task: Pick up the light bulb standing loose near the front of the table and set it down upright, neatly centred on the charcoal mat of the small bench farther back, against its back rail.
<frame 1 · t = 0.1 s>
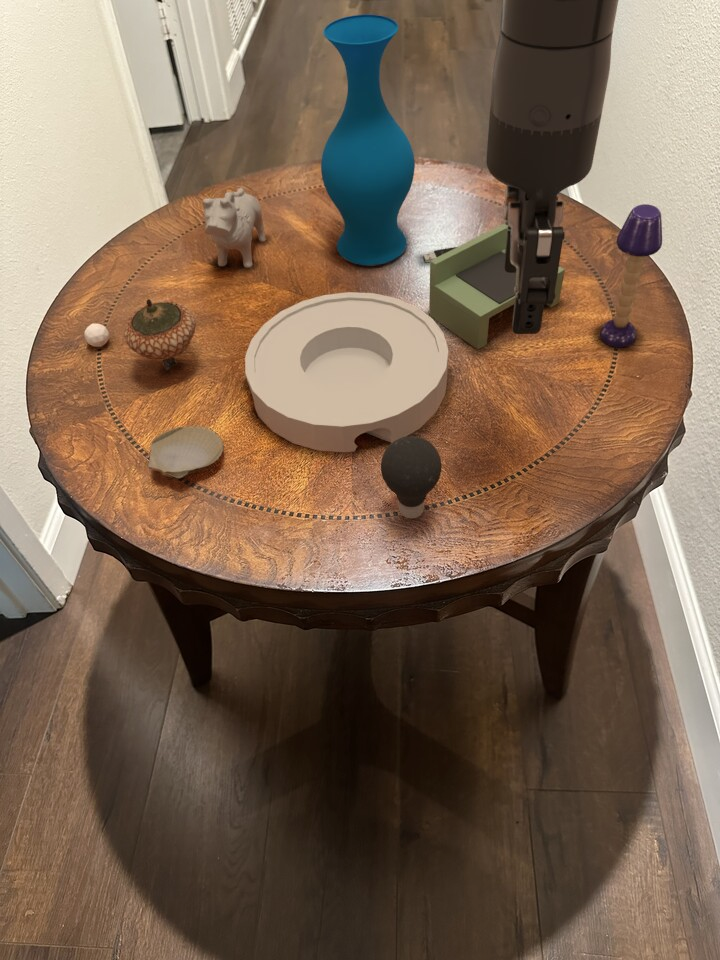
hand: (520, 299, 63), 20 cm above the table, tool pointing down, fingers open, 8 cm apart
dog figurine: (241, 256, 106), on the table
polyhedron: (101, 345, 95), on the table
acorn: (172, 368, 91), on the table
light bulb: (411, 514, 74), on the table
toy lamp: (614, 338, 90), on the table
usb flash drive: (451, 258, 103), on the table
beige round base: (348, 381, 88), on the table
bench: (494, 309, 95), on the table
vase: (372, 249, 105), on the table
seashell: (188, 461, 81), on the table
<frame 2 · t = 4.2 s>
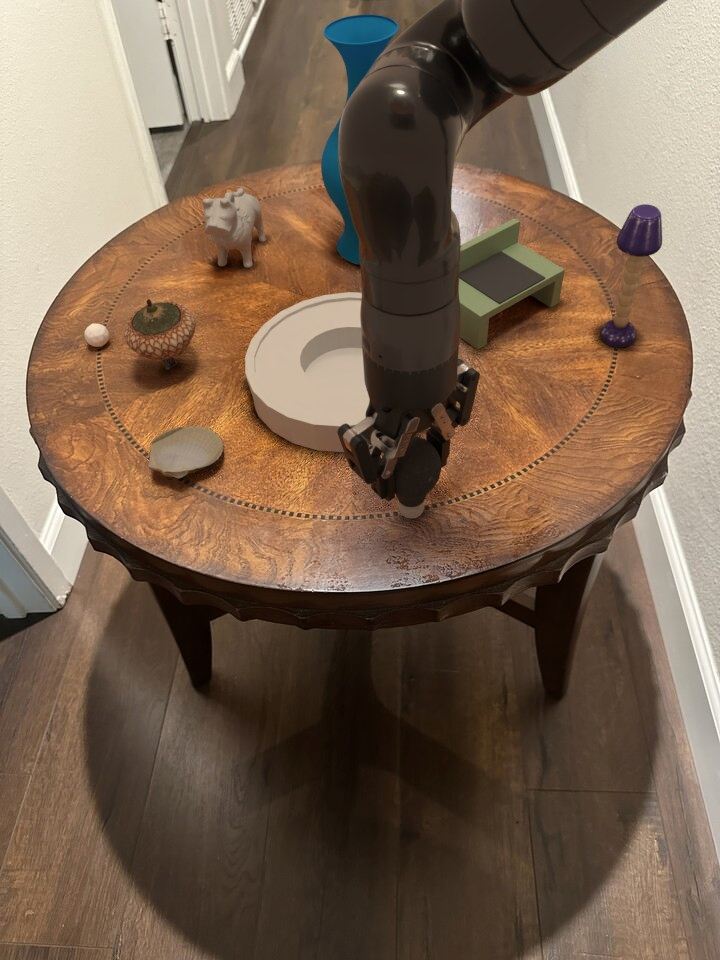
hand: (411, 477, 70), 6 cm above the table, tool pointing down, fingers closed on light bulb, 5 cm apart
light bulb: (411, 514, 74), on the table, touching gripper
everything else where it was.
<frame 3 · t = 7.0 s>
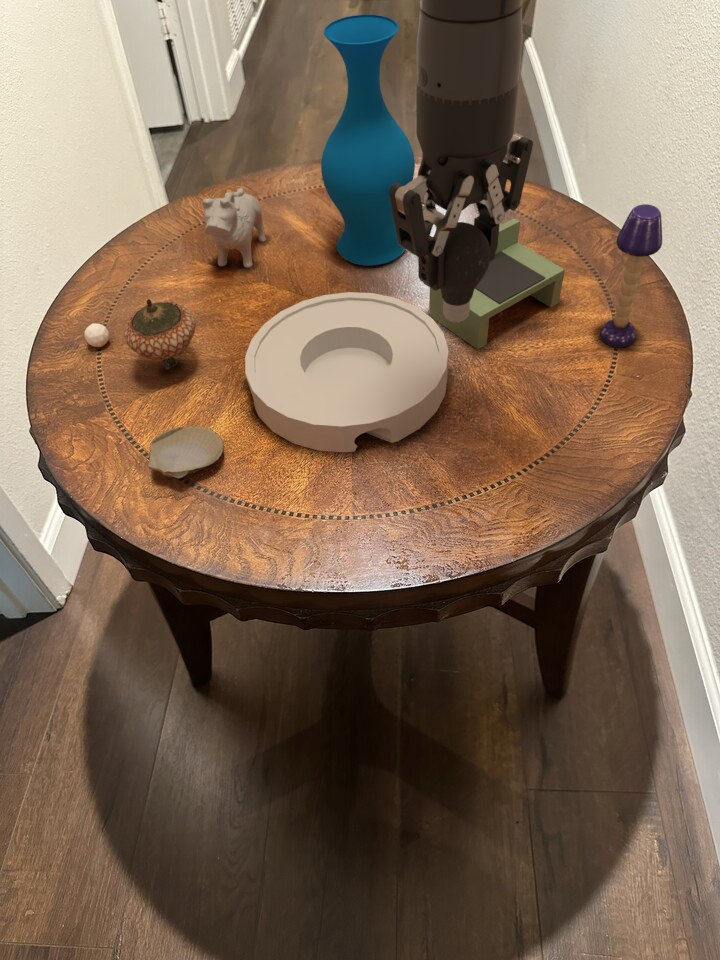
hand: (458, 270, 67), 19 cm above the table, tool pointing down, fingers closed on light bulb, 5 cm apart
light bulb: (455, 322, 72), point 14 cm above the table, touching gripper
everything else where it was.
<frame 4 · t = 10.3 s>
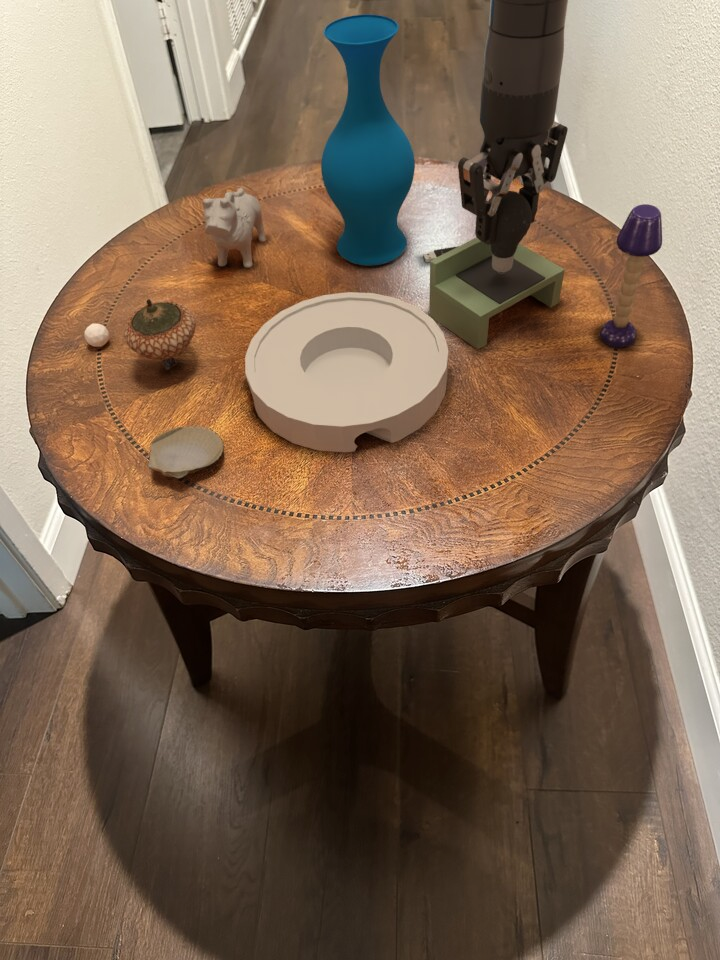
hand: (505, 230, 86), 11 cm above the table, tool pointing down, fingers closed on light bulb, 5 cm apart
light bulb: (501, 273, 90), point 6 cm above the table, touching gripper
everything else where it was.
when the fingers open (11 cm above the table, at t = 11.0 s): light bulb stays where it is, resting on bench.
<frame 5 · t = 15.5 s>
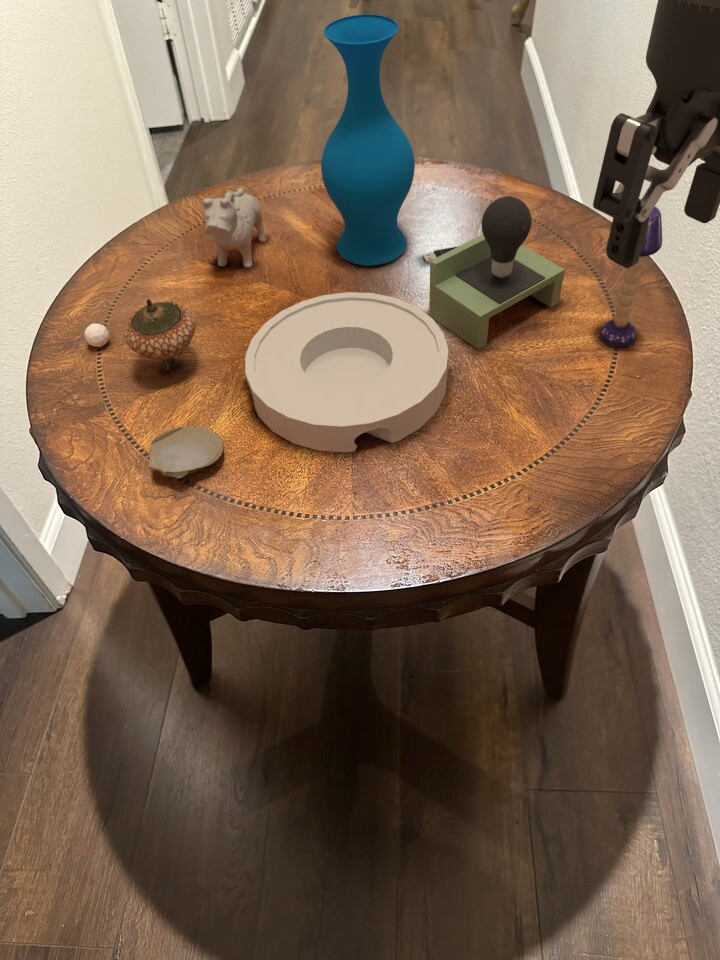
hand: (660, 239, 54), 28 cm above the table, tool pointing down, fingers open, 8 cm apart
light bulb: (500, 277, 90), point 5 cm above the table, touching bench
everything else where it was.
at the end: light bulb 0.1 cm off-centre on the bench, point 5.0 cm above the bench's base; light bulb tilted 0°; the gripper is holding nothing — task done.
